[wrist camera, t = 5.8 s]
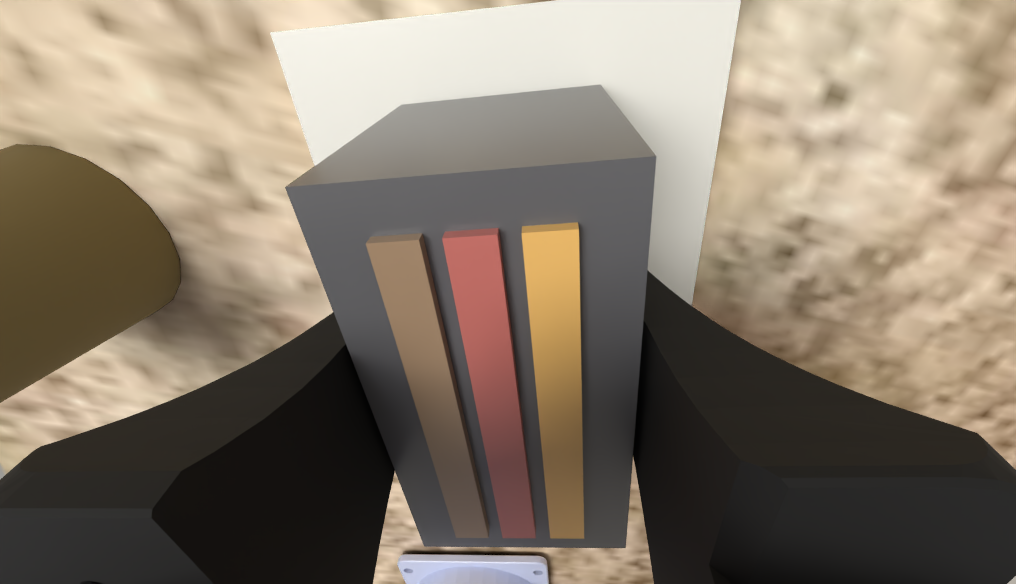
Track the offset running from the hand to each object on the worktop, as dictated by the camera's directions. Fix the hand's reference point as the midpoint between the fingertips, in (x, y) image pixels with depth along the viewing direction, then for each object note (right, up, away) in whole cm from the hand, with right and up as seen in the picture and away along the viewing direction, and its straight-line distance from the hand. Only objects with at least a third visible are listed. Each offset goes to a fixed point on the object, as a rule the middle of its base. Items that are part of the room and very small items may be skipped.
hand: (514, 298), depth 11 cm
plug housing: (0, +1, +1) cm, 2 cm away
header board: (0, +2, +2) cm, 3 cm away
